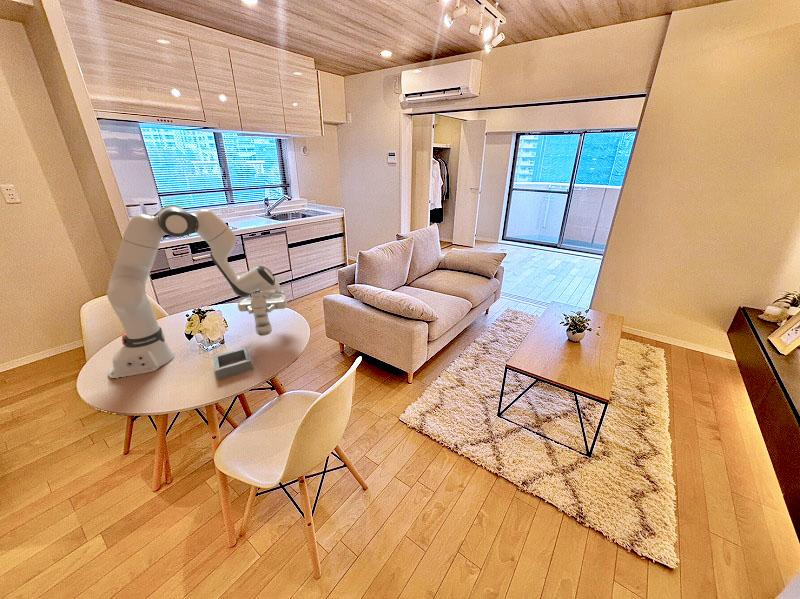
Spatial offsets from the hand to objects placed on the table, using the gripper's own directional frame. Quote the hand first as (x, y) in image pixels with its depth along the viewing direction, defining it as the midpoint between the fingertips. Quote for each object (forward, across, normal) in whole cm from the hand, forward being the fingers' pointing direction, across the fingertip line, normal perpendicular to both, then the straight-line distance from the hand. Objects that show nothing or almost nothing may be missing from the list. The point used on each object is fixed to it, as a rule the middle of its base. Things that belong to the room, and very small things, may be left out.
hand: (259, 311), depth 136 cm
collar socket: (+10, -11, +20) cm, 25 cm away
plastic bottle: (-1, 0, +12) cm, 12 cm away
